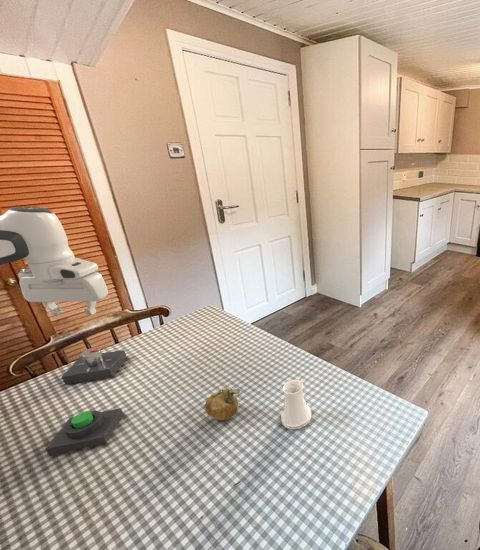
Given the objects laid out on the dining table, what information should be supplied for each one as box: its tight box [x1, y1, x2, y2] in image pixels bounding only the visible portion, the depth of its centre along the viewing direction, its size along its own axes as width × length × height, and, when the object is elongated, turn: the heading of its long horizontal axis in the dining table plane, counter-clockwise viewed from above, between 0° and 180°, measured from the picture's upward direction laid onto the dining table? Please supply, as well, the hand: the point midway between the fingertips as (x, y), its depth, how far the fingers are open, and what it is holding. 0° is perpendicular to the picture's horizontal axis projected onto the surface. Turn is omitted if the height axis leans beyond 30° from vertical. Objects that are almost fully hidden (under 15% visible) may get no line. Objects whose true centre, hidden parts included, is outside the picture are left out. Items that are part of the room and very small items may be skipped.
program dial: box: [80, 346, 104, 367], centre depth 93 cm, size 4×4×4 cm
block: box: [45, 407, 124, 456], centre depth 73 cm, size 11×9×4 cm
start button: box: [71, 410, 94, 429], centre depth 72 cm, size 4×4×2 cm
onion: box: [204, 387, 242, 421], centre depth 77 cm, size 8×8×8 cm
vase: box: [280, 379, 312, 430], centre depth 76 cm, size 8×8×10 cm
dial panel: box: [61, 349, 128, 386], centre depth 94 cm, size 12×10×3 cm
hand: (75, 313), depth 86 cm, fingers open, 8 cm apart
